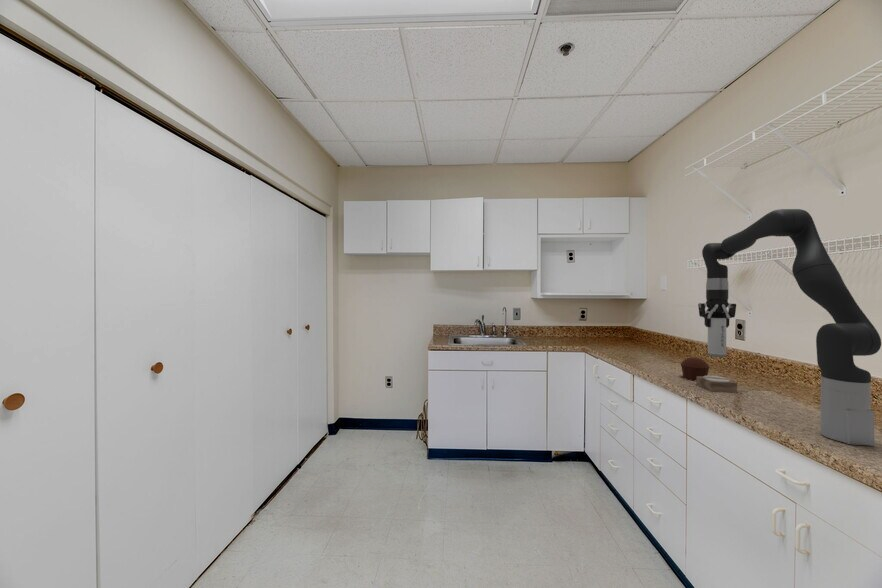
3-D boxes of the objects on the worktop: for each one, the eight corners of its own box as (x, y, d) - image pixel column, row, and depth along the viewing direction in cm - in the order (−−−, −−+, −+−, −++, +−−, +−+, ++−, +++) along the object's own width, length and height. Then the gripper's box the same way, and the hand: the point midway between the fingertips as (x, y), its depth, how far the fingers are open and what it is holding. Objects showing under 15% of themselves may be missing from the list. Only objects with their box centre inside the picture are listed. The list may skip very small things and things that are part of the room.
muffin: (709, 383, 156) (709, 361, 156) (680, 379, 163) (680, 358, 163) (708, 378, 165) (709, 357, 165) (681, 374, 172) (681, 355, 172)
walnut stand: (737, 392, 142) (737, 381, 142) (710, 391, 143) (711, 380, 143) (720, 385, 152) (720, 375, 152) (696, 384, 153) (696, 375, 153)
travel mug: (706, 354, 152) (706, 309, 152) (726, 355, 147) (726, 310, 147) (706, 356, 147) (706, 310, 147) (726, 357, 143) (726, 310, 143)
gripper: (704, 288, 144) (704, 327, 144) (741, 288, 142) (741, 328, 142) (693, 288, 152) (693, 326, 152) (729, 289, 150) (728, 326, 150)
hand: (716, 327), depth 147 cm, fingers closed on travel mug, 6 cm apart
